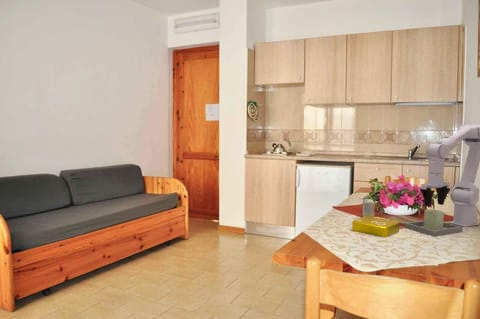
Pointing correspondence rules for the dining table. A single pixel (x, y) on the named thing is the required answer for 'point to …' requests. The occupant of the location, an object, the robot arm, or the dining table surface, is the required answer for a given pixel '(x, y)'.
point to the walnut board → (403, 219)
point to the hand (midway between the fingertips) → (434, 205)
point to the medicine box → (368, 207)
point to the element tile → (375, 226)
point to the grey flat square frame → (449, 229)
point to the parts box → (433, 219)
